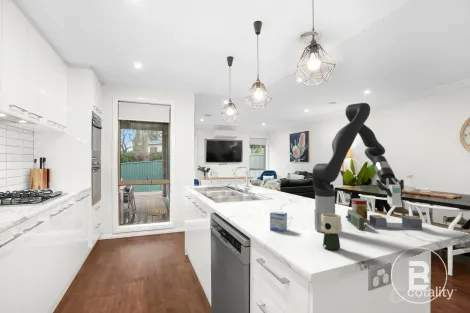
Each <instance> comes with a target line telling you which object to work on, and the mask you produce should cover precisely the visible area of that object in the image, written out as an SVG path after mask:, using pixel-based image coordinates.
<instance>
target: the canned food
mask: <svg viewBox="0 0 470 313" xmlns="http://www.w3.org/2000/svg"><path fill="white" fill-rule="evenodd" d="M351 210H352V211H354V212H356V213H357V214H359V215H360V216H362V217H363V218H364V219H365V223H367V222H368V200H367V199H365V198H357V197H356V198H355V197H354V198H351Z"/></svg>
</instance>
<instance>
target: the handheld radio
mask: <svg viewBox="0 0 470 313" xmlns="http://www.w3.org/2000/svg"><path fill="white" fill-rule="evenodd" d="M345 218H346V220H347V221H348V222H349V224H351V225H352V226H353V227H355V228H356V229H357V230H358V231H365V227H366V226H365V225H366V224H365V223H366V222H365V219H364V218H363V217H362V216H360V215H359V214H357V213H356V212H354V211H352V209H349V208H348V209H347V215H346V216H345Z"/></svg>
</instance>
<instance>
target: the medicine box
mask: <svg viewBox="0 0 470 313" xmlns="http://www.w3.org/2000/svg"><path fill="white" fill-rule="evenodd" d="M269 230H270V231H272V230H275V231H276V232H283V231H285V232H287V230H288V212H278V211H271V212H270V213H269ZM275 231H274V232H275Z"/></svg>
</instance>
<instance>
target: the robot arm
mask: <svg viewBox="0 0 470 313" xmlns="http://www.w3.org/2000/svg"><path fill="white" fill-rule="evenodd" d="M370 114H371V105H370V104H369V103H367V102H359V103H353V104H352V103H351V104H348V105H347V106H346V108H345V116H346V119H347V121H348V122H349V123H347V124H346V125H344V126H343V127H342V128H340V129H339V130H338V131H337V133H336V134H335V136H334V138H333V139H332V141H331V142H332V143H331V148H332V157H331V158H330V160H329V161H328V162H327V163H323V162H322V163H317V164H315V165H314V166H313V169H312V186H313V187H312V188H313V190H314V201H315V202H314V207H315V208H314V229H315V231H316V232H320V233H325V232H324V231H322V228H321V226H322V223H321V215H322V214H325V213H330V214H336V196H335V195H336V193H335V190H334V189H333V188H331V187H330V186H329V184H328V183H334V182H335V181H336V180H337V179H338V177H339V174H340V172H341V171H342V170H341V169H342V167H343V164H344V161H345V159H346V157H347V156H348V153H349V150H350V149H351V148H352V146H353V144H354V142H355V139H356V138H357V136H358V135H359V136H360V139H361V140H362V142H363V145H364V147H366V148H365V150H364V154H365V157H366V158H368V159H369V160H370V162H371V163H372V165H373V166H374V170H375V173H376V175H377V177H378V179H376V180H375V182H374V183H375V185H376V186H377V187H378V189H380V191H382V192H383V191H385V192H386V195H388V196H389V197H391V196H392V193H391V191H390V189H389V186H388V185H400V188H401V197H402V196H403V195H404V193H403V190H404V188H405V182H404V179H398V178H396V176H395V173H394V171H393V170H392V167H391V165H390V164H389V162H388V160H387V158H386V157H385V156H384V155H385V154H386V149H385V147H384V146H383V145H382V144H381V143H380V142H379V141H378V139H377V137H376V135H375V133H374V131H373V130H372V129H371V128H370V127H368V126H367V125H365V122H367V119H368V118H369V115H370Z"/></svg>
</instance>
